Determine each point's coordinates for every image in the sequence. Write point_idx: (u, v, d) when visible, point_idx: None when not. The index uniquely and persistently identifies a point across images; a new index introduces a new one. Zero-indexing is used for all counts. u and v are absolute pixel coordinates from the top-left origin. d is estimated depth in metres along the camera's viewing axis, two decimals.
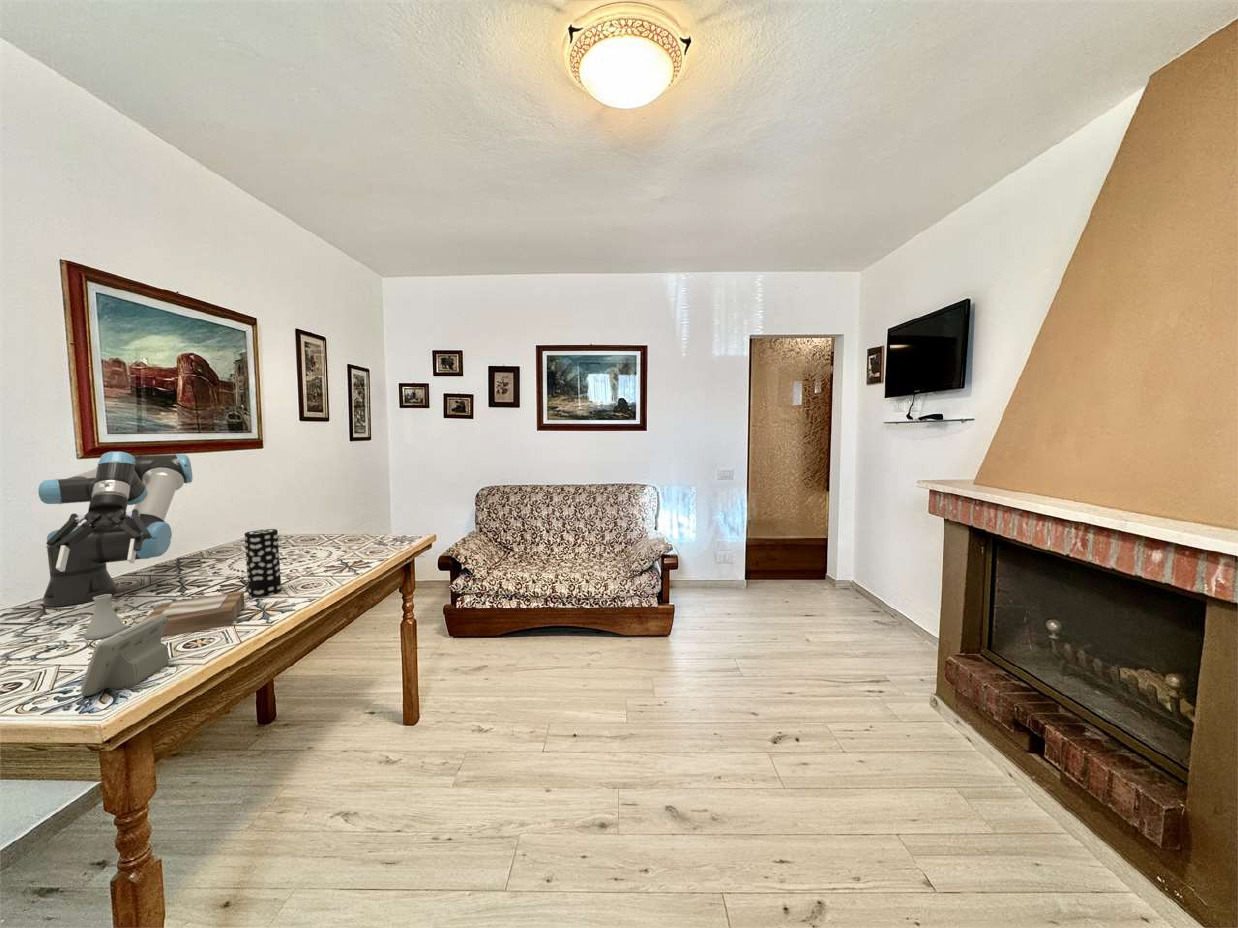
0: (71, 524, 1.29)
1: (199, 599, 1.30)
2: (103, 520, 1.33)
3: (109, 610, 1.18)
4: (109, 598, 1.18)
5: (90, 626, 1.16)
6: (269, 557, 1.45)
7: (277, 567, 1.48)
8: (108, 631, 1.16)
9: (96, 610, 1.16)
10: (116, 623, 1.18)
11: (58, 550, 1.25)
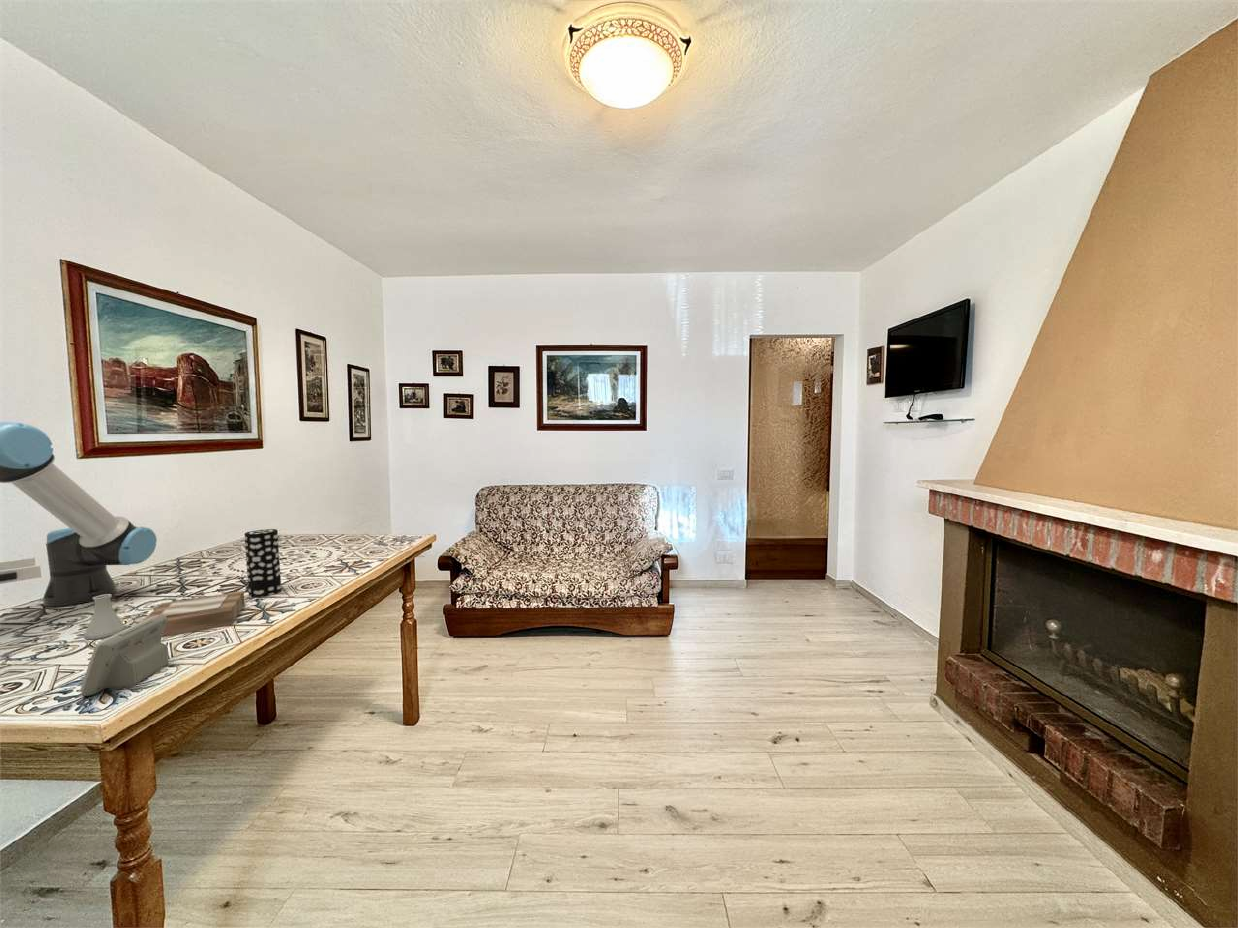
0: None
1: (199, 599, 1.30)
2: None
3: (109, 610, 1.18)
4: (109, 598, 1.18)
5: (90, 626, 1.16)
6: (269, 557, 1.45)
7: (277, 567, 1.48)
8: (108, 631, 1.16)
9: (96, 610, 1.16)
10: (116, 623, 1.18)
11: None
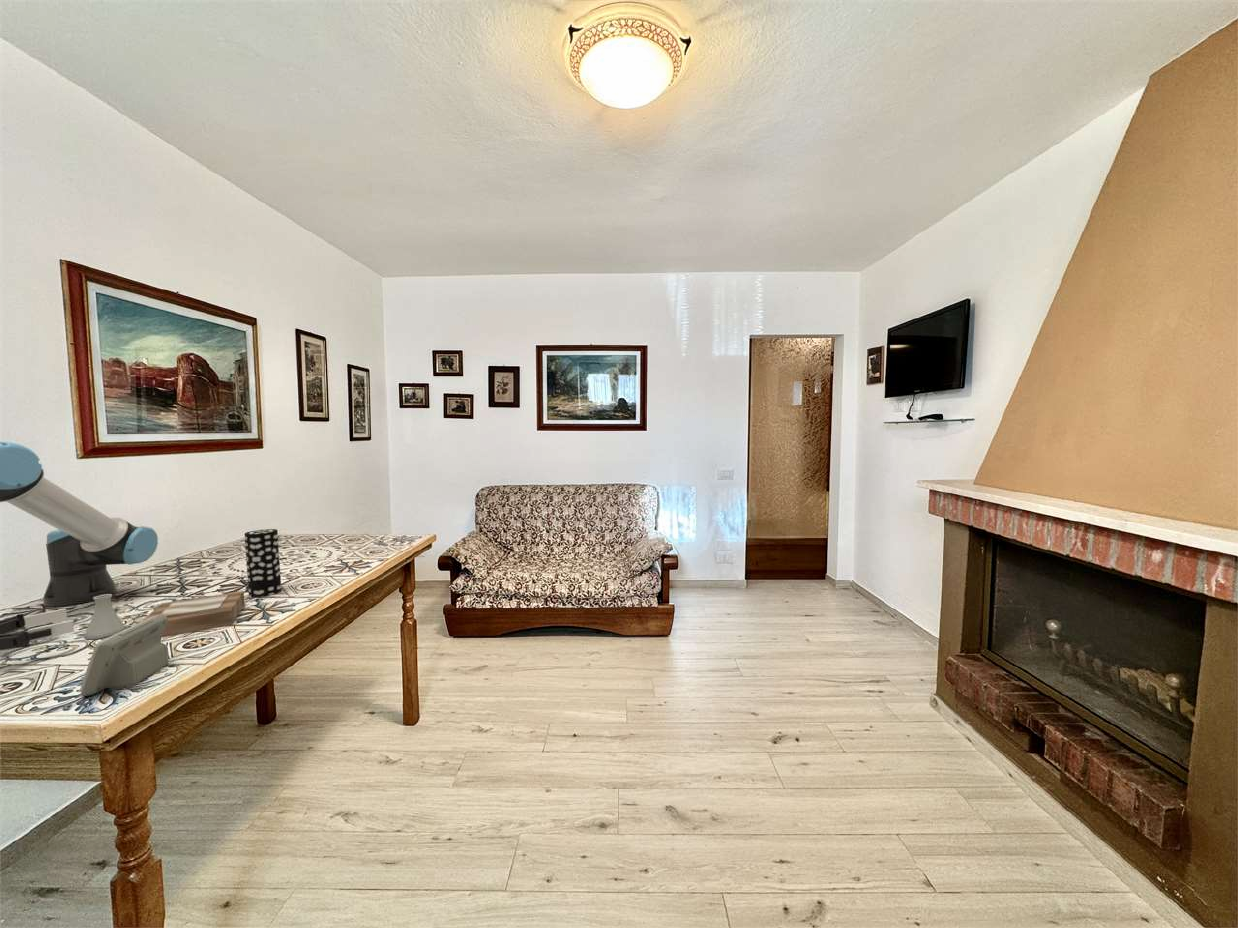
0: None
1: (199, 599, 1.30)
2: None
3: (109, 610, 1.18)
4: (109, 598, 1.18)
5: (90, 626, 1.16)
6: (269, 557, 1.45)
7: (277, 567, 1.48)
8: (108, 631, 1.16)
9: (96, 610, 1.16)
10: (116, 623, 1.18)
11: None
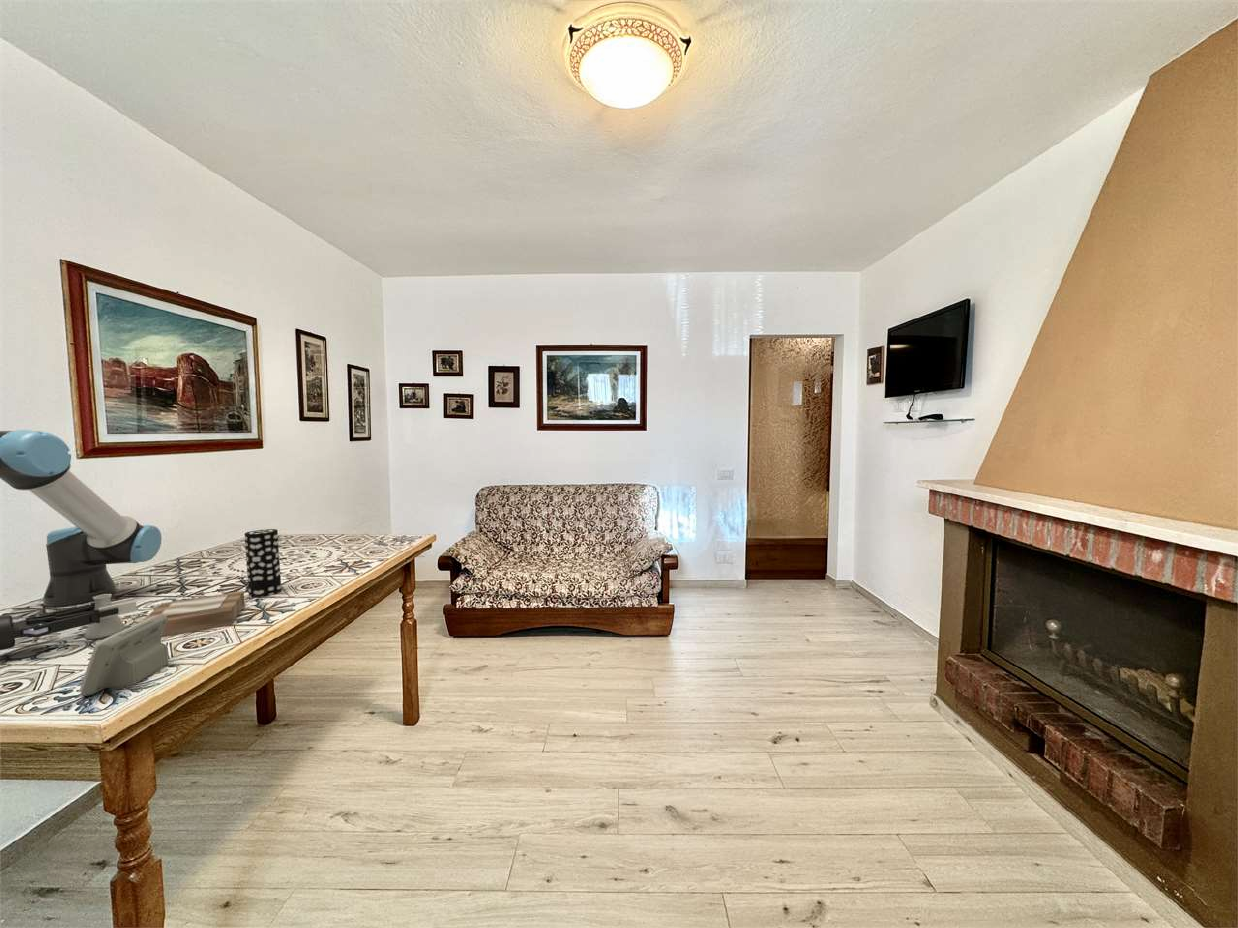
0: None
1: (199, 599, 1.30)
2: None
3: None
4: (109, 598, 1.18)
5: (90, 626, 1.16)
6: (269, 557, 1.45)
7: (277, 567, 1.48)
8: (108, 631, 1.16)
9: None
10: (116, 623, 1.18)
11: None
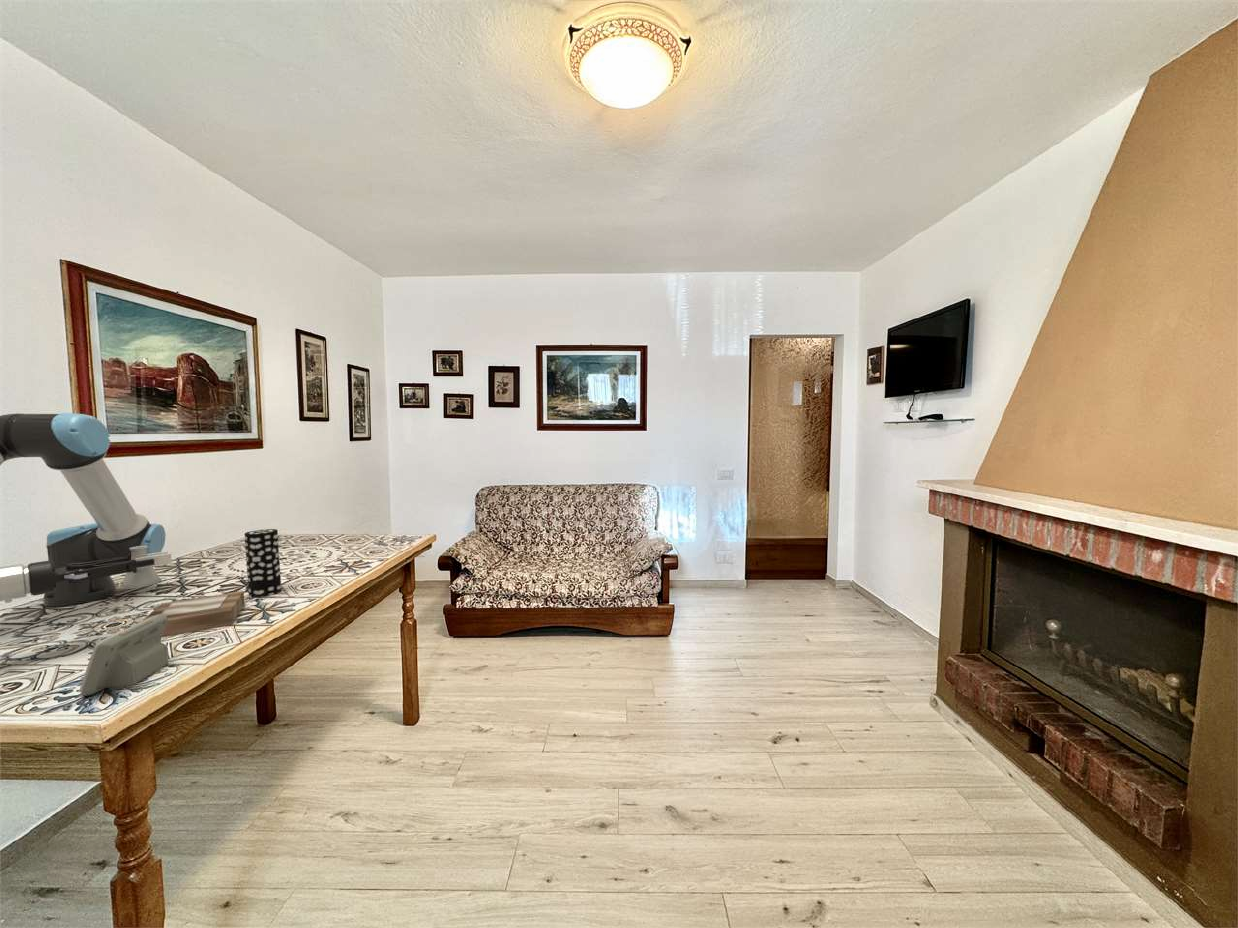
0: None
1: (199, 599, 1.30)
2: None
3: None
4: (145, 549, 1.19)
5: (127, 576, 1.17)
6: (269, 557, 1.45)
7: (277, 567, 1.48)
8: (144, 581, 1.18)
9: None
10: (151, 574, 1.19)
11: None
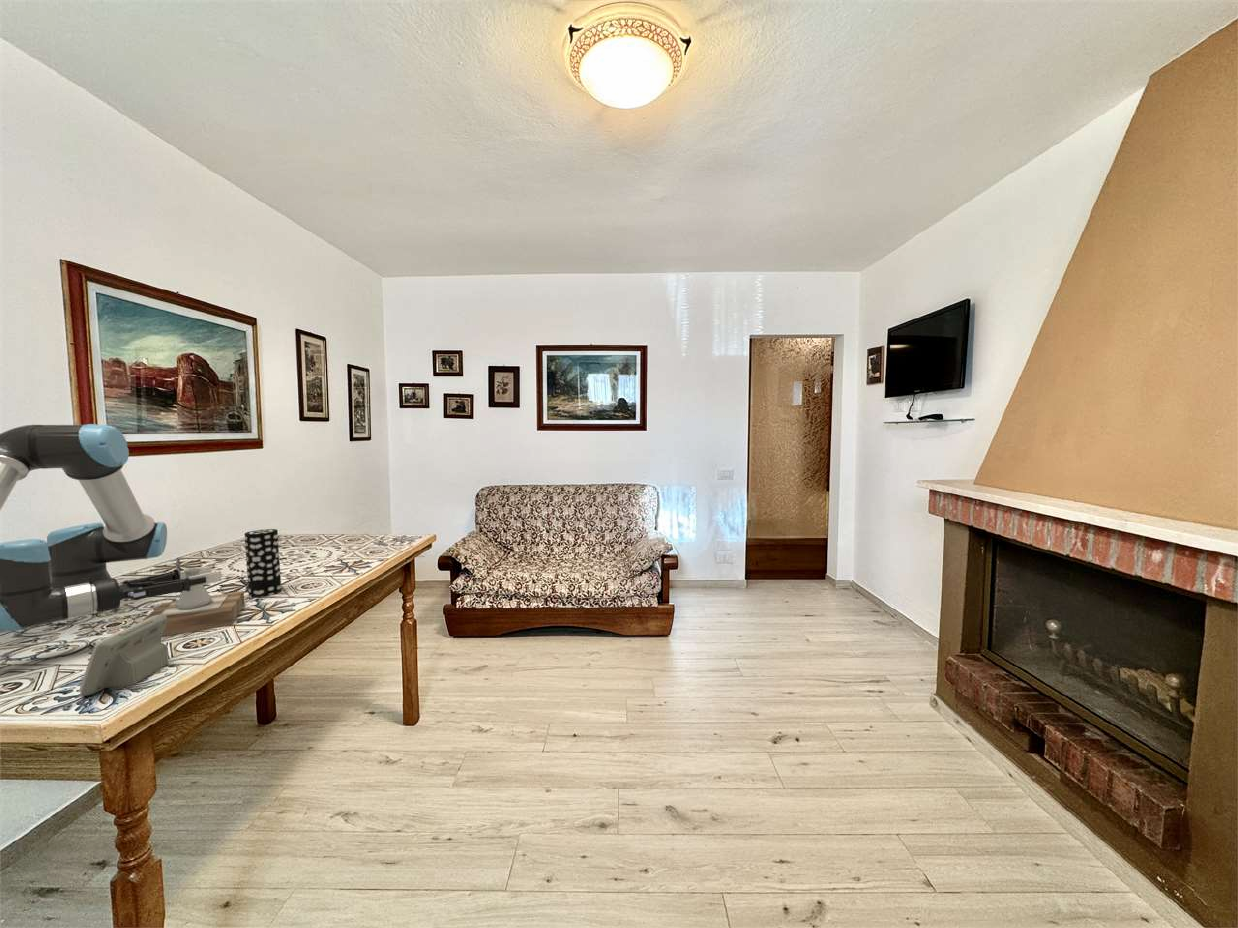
0: None
1: None
2: None
3: None
4: (198, 571, 1.25)
5: (182, 597, 1.23)
6: (269, 557, 1.45)
7: (277, 567, 1.48)
8: (198, 602, 1.24)
9: None
10: (204, 595, 1.25)
11: None
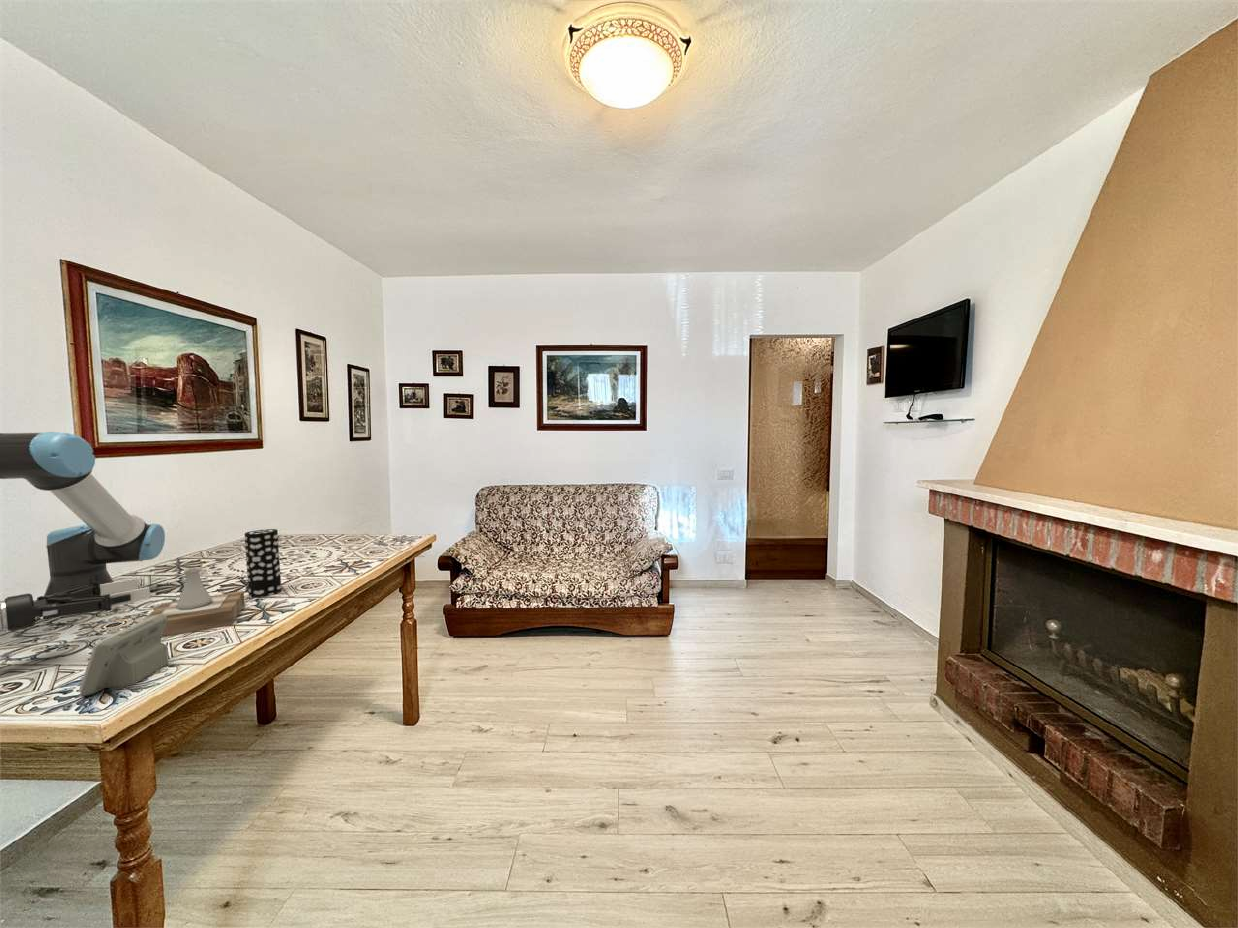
0: None
1: None
2: None
3: (198, 583, 1.25)
4: (198, 571, 1.25)
5: (182, 597, 1.23)
6: (269, 557, 1.45)
7: (277, 567, 1.48)
8: (198, 602, 1.24)
9: (187, 582, 1.24)
10: (204, 595, 1.25)
11: None
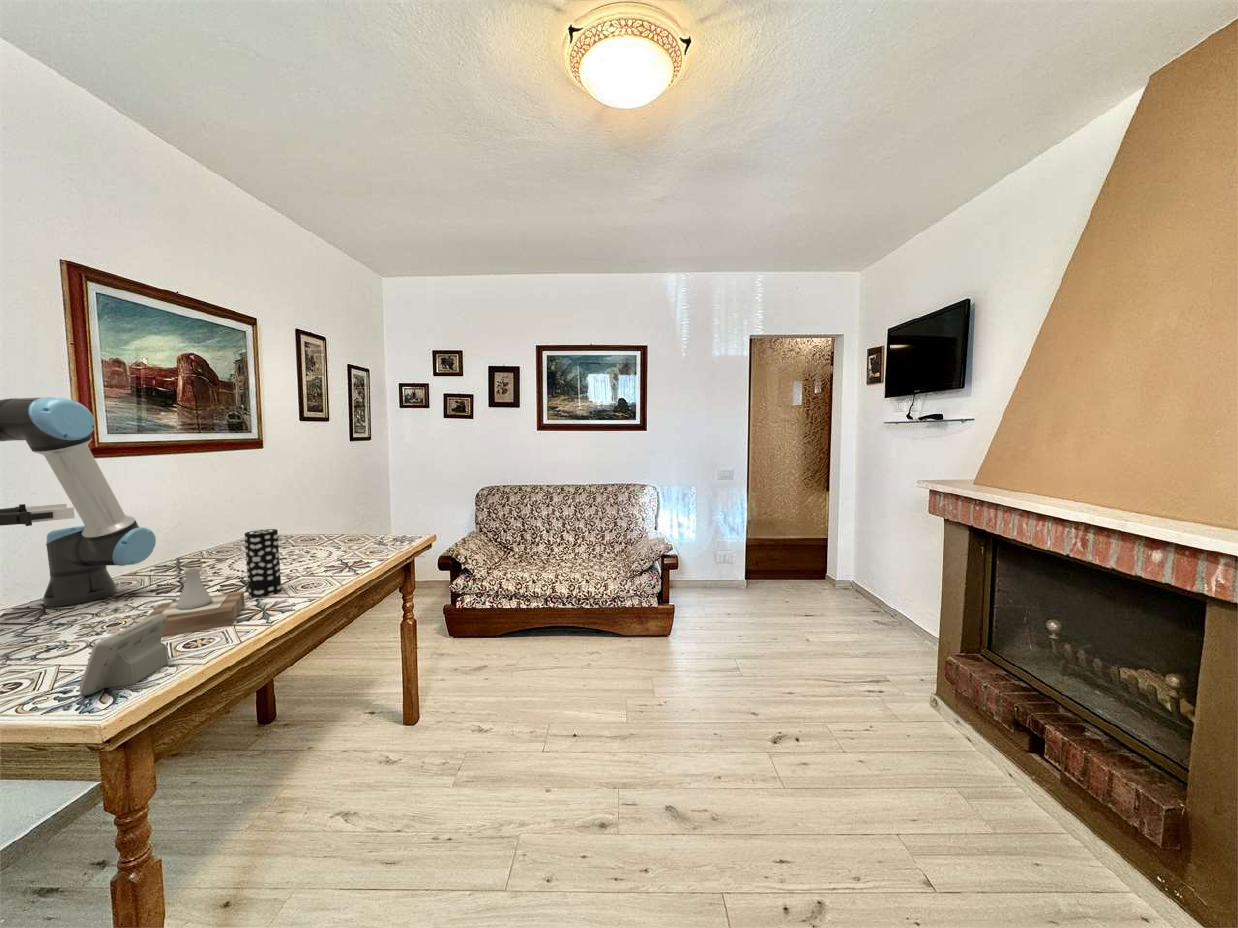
0: None
1: None
2: None
3: (198, 583, 1.25)
4: (198, 571, 1.25)
5: (182, 597, 1.23)
6: (269, 557, 1.45)
7: (277, 567, 1.48)
8: (198, 602, 1.24)
9: (187, 582, 1.24)
10: (204, 595, 1.25)
11: None
